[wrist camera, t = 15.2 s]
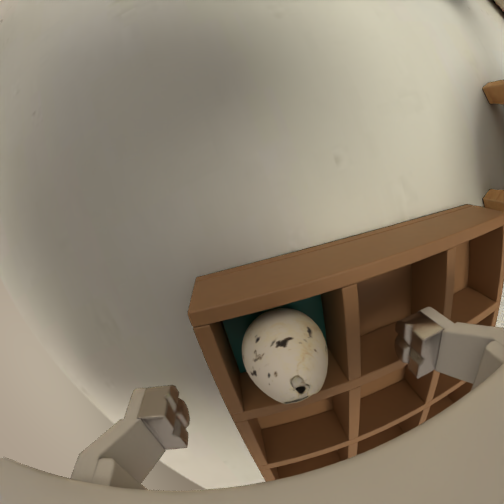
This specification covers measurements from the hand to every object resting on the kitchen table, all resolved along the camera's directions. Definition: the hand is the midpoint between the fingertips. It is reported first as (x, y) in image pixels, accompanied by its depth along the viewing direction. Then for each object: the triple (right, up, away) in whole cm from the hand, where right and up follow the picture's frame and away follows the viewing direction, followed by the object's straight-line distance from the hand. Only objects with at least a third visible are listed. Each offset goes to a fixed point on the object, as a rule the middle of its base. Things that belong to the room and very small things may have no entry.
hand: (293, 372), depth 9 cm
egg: (0, +1, +3) cm, 4 cm away
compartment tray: (+6, -2, +6) cm, 8 cm away
